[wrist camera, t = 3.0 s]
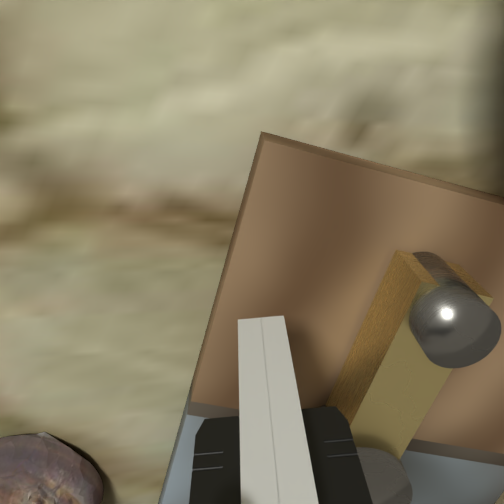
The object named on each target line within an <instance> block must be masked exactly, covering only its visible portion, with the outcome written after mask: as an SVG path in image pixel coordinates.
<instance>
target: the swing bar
mask: <svg viewBox="0 0 504 504" xmlns="http://www.w3.org/2000/svg"><path fill="white" fill-rule="evenodd" d="M493 299H494V298H493V297H492V296H491V295H490V294H489V293H488V292H487V291H486V290H485V289H484V288H483V287H482V286H481V285H480V284H479V283H478V282H477V281H476V280H475V279H473V278H472V277H471V276H470V275H469V274H468V273H467V272H466V271H465V270H464V269H463V268H462V267H461V266H460V265H459V264H454V263H450V262H446V261H444V260H443V259H442V258H441V257H439V256H438V255H436V254H434V253H431V252H414V253H409V252H405V251H401V250H395V253H394V255H393V257H392V259H391V261H390V264H389V266H388V268H387V270H386V272H385V275H384V277H383V279H382V281H381V283H380V286H379V288H378V290H377V292H376V294H375V297H374V299H373V301H372V303H371V306H370V308H369V310H368V312H367V314H366V317H365V319H364V321H363V323H362V325H361V328H360V330H359V332H358V334H357V336H356V339H355V341H354V343H353V345H352V347H351V350H350V352H349V354H348V356H347V359H346V361H345V363H344V365H343V367H342V370H341V372H340V374H339V376H338V378H337V381H336V383H335V385H334V387H333V389H332V392H331V394H330V396H329V398H328V400H327V403H326V405H323V406H321V407H330V406H336V407H337V408H338V410H339V411H340V412H341V413H342V414H343V415H344V417H345V418H346V419H347V420H348V423H349V426H350V429H351V433H352V436H353V441H354V443H355V446H356V449H357V454H358V456H359V459H360V463H361V466H362V469H363V472H364V476H365V479H366V482H367V486H368V489H369V492H370V496H371V499H372V502H373V504H411V501H412V496H413V490H412V486H411V483H410V481H409V478H408V476H407V474H406V471H405V469H404V466H403V464H402V461H401V459H400V458H401V456H402V455H403V453H404V451H405V449H406V448H407V446H408V444H409V443H410V441H411V439H412V438H413V436H414V434H415V432H416V431H417V429H418V427H419V426H420V424H421V422H422V420H423V419H424V417H425V415H426V414H427V412H428V410H429V408H430V407H431V405H432V403H433V402H434V400H435V398H436V396H437V395H438V393H439V391H440V390H441V388H442V386H443V385H444V383H445V381H446V379H447V378H448V376H449V374H450V373H451V371H452V369H453V368H462V367H466V366H470V365H472V364H475V363H477V362H479V361H480V360H482V359H483V358H485V357H486V356H487V355H488V354H489V353H490V352H491V351H492V350H493V349H494V348H495V346H496V345H497V343H498V341H499V339H500V336H501V322H500V319H499V317H498V316H497V314H496V313H495V312H494V311H493V310H492V309H491V308H490V307H489V306H490V304H491V303H492V301H493ZM318 408H319V407H318Z"/></svg>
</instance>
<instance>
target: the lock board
mask: <svg viewBox="0 0 504 504" xmlns="http://www.w3.org/2000/svg"><path fill="white" fill-rule="evenodd" d="M395 250H401V251H405V252H409V253H414V252H431V253H434V254H436V255H438V256H439V257H441V258H442V259H443V260H444V261H446V262H450V263H454V264H459V265H460V266H461V267H462V268H463V269H464V270H465V271H466V272H467V273H468V274H469V275H470V276H471V277H472V278H473V279H475V280H476V281H477V282H478V283H479V284H480V285H481V286H482V287H483V288H484V289H485V290H486V291H487V292H488V293H489V294H490V295H491V296H492V297H493V298H494V299H493V301H492V303H491V304H490V306H489V307H490V308H491V309H492V310H493V311H494V312H495V313H496V314H497V316H498V317H499V319H500V322H501V336H500V339H499V341H498V343H497V345H496V346H495V348H494V349H493V350H492V351H491V352H490V353H489V354H488V355H487V356H486V357H485V358H483V359H482V360H480V361H479V362H477V363H475V364H472V365H470V366H466V367H462V368H453V369H452V371H451V373H450V374H449V376H448V378H447V379H446V381H445V383H444V385H443V386H442V388H441V390H440V391H439V393H438V395H437V396H436V398H435V400H434V402H433V403H432V405H431V407H430V408H429V410H428V412H427V414H426V415H425V417H424V419H423V420H422V422H421V424H420V426H419V427H418V429H417V431H416V432H415V434H414V436H413V438H412V439H411V441H410V443H409V444H408V446H407V448H406V449H405V451H404V453H403V455H402V456H401V458H400V459H401V461H402V464H403V466H404V469H405V471H406V474H407V476H408V478H409V481H410V483H411V486H412V490H413V496H412V501H411V504H494V503H495V502H496V501H497V499H498V498H499V497H500V495H501V494H502V493H503V491H504V198H503V197H500V196H496V195H492V194H489V193H485V192H481V191H478V190H474V189H470V188H467V187H463V186H459V185H456V184H452V183H448V182H445V181H441V180H437V179H434V178H430V177H426V176H423V175H419V174H415V173H412V172H408V171H404V170H401V169H397V168H393V167H390V166H386V165H382V164H379V163H375V162H371V161H368V160H364V159H361V158H357V157H353V156H350V155H346V154H342V153H339V152H335V151H331V150H328V149H324V148H320V147H317V146H313V145H309V144H306V143H302V142H298V141H295V140H291V139H287V138H284V137H280V136H276V135H273V134H269V133H265V132H262V131H261V135H260V139H259V142H258V146H257V149H256V153H255V156H254V160H253V164H252V167H251V171H250V174H249V178H248V182H247V185H246V189H245V192H244V196H243V200H242V203H241V207H240V210H239V214H238V218H237V221H236V225H235V228H234V232H233V236H232V239H231V243H230V246H229V250H228V254H227V257H226V261H225V264H224V268H223V272H222V275H221V279H220V282H219V286H218V290H217V293H216V297H215V300H214V304H213V308H212V311H211V315H210V318H209V322H208V326H207V329H206V333H205V336H204V340H203V344H202V347H201V351H200V354H199V358H198V362H197V365H196V369H195V372H194V376H193V379H192V383H191V387H190V390H189V394H188V397H187V401H186V405H185V408H184V412H183V415H182V419H181V423H180V426H179V430H178V433H177V437H176V441H175V444H174V448H173V451H172V455H171V459H170V462H169V466H168V469H167V473H166V477H165V480H164V484H163V487H162V491H161V495H160V498H159V502H158V504H189V498H190V487H191V477H192V466H193V457H194V445H195V435H196V433H197V431H198V430H199V428H200V426H201V424H202V423H203V421H204V419H209V418H220V417H231V416H239V362H238V320H239V319H250V318H261V317H272V316H284V319H285V325H286V330H287V336H288V341H289V346H290V352H291V357H292V363H293V368H294V373H295V379H296V384H297V390H298V395H299V400H300V406H301V409H308V408H318V407H321V406H323V405H326V403H327V400H328V398H329V396H330V394H331V392H332V389H333V387H334V385H335V383H336V381H337V378H338V376H339V374H340V372H341V370H342V367H343V365H344V363H345V361H346V359H347V356H348V354H349V352H350V350H351V347H352V345H353V343H354V341H355V339H356V336H357V334H358V332H359V330H360V328H361V325H362V323H363V321H364V319H365V317H366V314H367V312H368V310H369V308H370V306H371V303H372V301H373V299H374V297H375V294H376V292H377V290H378V288H379V286H380V283H381V281H382V279H383V277H384V275H385V272H386V270H387V268H388V266H389V264H390V261H391V259H392V257H393V255H394V253H395Z"/></svg>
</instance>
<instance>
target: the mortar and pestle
mask: <svg viewBox="0 0 504 504" xmlns="http://www.w3.org/2000/svg"><path fill="white" fill-rule="evenodd" d="M103 493H104V489H103V483H102V480H101V477H100V475H99V474H98V472H97V470H96V469H95V468H94V467H93V465H92V464H91V463H90V462H88V461H87V460H86V459H84V458H83V457H82V456H80V455H79V454H78V453H76V452H75V451H74V450H72V449H71V448H69V447H68V446H66V445H65V444H63V443H62V442H60V441H58V440H57V439H55V438H54V437H52V436H51V435H49V434H47V433H46V432H43V433H39V434H30V435H17V436H9V437H2V438H0V504H101V502H102V499H103Z"/></svg>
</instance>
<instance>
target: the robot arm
mask: <svg viewBox="0 0 504 504" xmlns="http://www.w3.org/2000/svg"><path fill="white" fill-rule="evenodd" d="M238 362H239V416H231V417H220V418H209V419H204V421H203V423H202V424H201V426H200V428H199V430H198V431H197V433H196V435H195V445H194V457H193V466H192V477H191V487H190V498H189V504H373V502H372V499H371V496H370V492H369V489H368V486H367V482H366V479H365V476H364V472H363V469H362V466H361V463H360V459H359V456H358V454H357V449H356V446H355V443H354V441H353V436H352V433H351V429H350V426H349V423H348V420H347V419H346V418H345V417H344V415H343V414H342V413H341V412H340V411H339V410H338V408H337V407H336V406H330V407H319V408H308V409H301V406H300V400H299V395H298V390H297V384H296V379H295V373H294V368H293V363H292V357H291V352H290V346H289V341H288V336H287V330H286V325H285V319H284V316H272V317H261V318H250V319H239V320H238Z"/></svg>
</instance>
